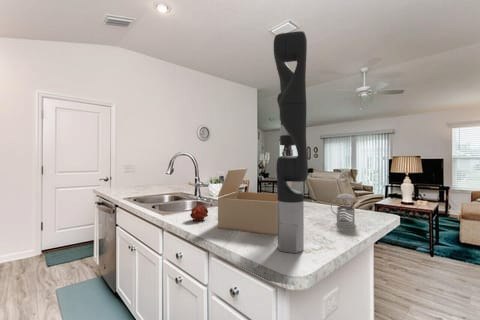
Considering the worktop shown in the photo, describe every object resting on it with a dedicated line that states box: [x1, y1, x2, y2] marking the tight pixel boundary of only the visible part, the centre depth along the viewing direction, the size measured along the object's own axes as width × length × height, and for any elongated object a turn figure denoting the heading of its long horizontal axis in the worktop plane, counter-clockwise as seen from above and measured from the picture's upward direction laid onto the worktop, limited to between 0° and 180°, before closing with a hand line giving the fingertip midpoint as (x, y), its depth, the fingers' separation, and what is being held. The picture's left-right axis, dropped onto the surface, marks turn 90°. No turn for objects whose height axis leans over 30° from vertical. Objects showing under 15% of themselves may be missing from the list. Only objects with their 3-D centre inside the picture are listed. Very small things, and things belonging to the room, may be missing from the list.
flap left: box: [217, 167, 249, 198], centre depth 122 cm, size 23×14×1 cm
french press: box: [330, 173, 358, 229], centre depth 116 cm, size 10×12×25 cm
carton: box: [217, 191, 278, 236], centre depth 117 cm, size 24×28×14 cm
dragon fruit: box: [189, 204, 209, 222], centre depth 126 cm, size 8×8×12 cm
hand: (287, 172), depth 112 cm, fingers closed
